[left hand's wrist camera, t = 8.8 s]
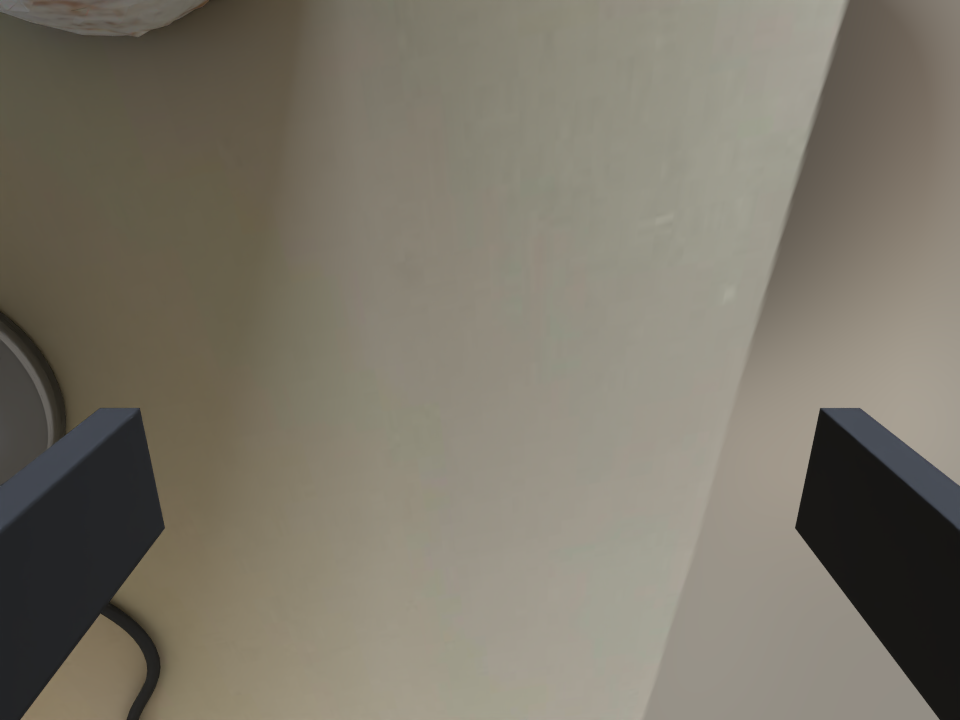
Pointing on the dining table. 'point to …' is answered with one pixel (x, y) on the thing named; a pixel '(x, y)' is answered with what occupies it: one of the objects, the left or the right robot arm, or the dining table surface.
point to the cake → (101, 14)
